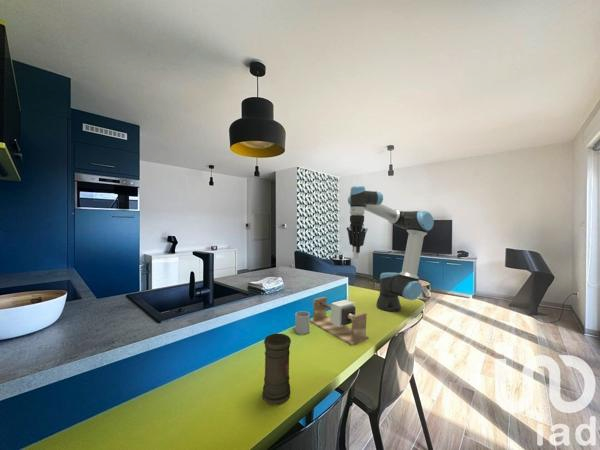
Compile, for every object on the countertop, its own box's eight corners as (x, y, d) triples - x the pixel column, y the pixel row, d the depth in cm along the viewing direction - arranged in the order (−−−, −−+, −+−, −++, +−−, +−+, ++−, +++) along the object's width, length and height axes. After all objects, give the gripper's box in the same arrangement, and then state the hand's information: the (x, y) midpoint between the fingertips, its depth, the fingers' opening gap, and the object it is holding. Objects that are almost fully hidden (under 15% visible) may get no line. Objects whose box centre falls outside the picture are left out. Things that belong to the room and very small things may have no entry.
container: (266, 408, 72) (268, 348, 71) (259, 389, 80) (260, 335, 80) (294, 400, 75) (296, 343, 75) (284, 382, 83) (286, 330, 83)
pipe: (318, 305, 135) (318, 300, 135) (321, 304, 137) (322, 299, 137) (356, 323, 113) (357, 317, 113) (361, 322, 114) (361, 316, 114)
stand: (310, 322, 134) (310, 299, 133) (326, 317, 141) (326, 296, 140) (351, 345, 109) (352, 318, 109) (368, 338, 116) (369, 312, 116)
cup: (299, 335, 118) (299, 317, 117) (290, 327, 126) (290, 310, 126) (312, 333, 121) (312, 315, 121) (302, 325, 130) (302, 308, 130)
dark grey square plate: (341, 324, 117) (341, 308, 117) (352, 320, 122) (352, 305, 122) (344, 325, 116) (344, 309, 116) (355, 322, 120) (355, 306, 120)
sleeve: (330, 322, 122) (331, 303, 121) (344, 318, 127) (345, 299, 127) (339, 327, 117) (340, 306, 117) (353, 322, 123) (354, 302, 122)
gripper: (343, 214, 133) (342, 257, 134) (362, 214, 123) (360, 260, 123) (352, 215, 138) (351, 256, 138) (371, 215, 127) (370, 259, 127)
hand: (356, 258), depth 131 cm, fingers closed
